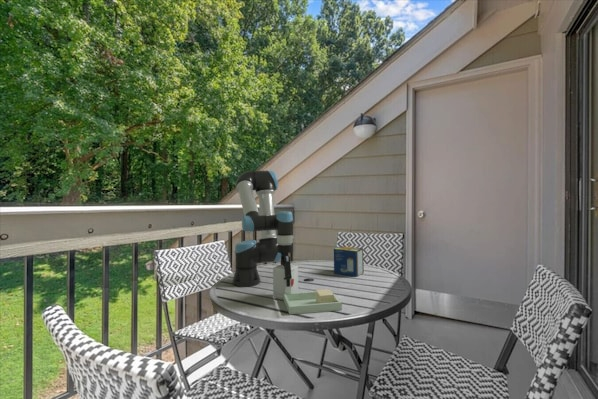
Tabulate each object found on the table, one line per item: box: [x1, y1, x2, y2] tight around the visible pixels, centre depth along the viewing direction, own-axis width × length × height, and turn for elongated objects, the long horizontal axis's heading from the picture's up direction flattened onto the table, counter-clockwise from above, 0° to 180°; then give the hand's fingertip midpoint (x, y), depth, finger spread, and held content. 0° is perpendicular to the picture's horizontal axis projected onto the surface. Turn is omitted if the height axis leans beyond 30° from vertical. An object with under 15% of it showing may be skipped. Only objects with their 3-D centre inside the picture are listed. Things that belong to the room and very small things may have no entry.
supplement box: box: [272, 264, 299, 300], centre depth 148 cm, size 9×9×15 cm
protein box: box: [333, 245, 365, 278], centre depth 191 cm, size 10×15×16 cm
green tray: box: [283, 290, 343, 315], centre depth 135 cm, size 17×22×4 cm
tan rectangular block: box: [315, 288, 335, 304], centre depth 137 cm, size 8×6×5 cm
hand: (286, 289), depth 148 cm, fingers open, 12 cm apart
